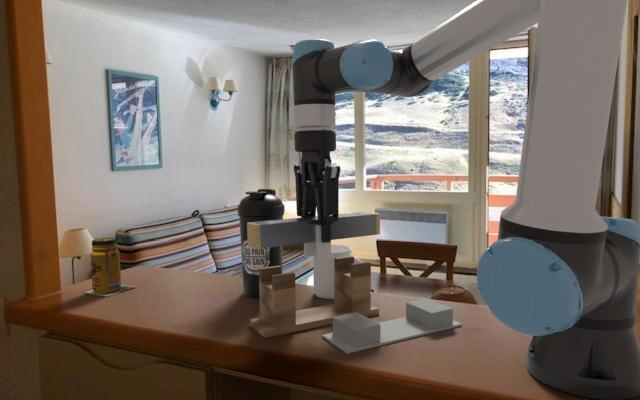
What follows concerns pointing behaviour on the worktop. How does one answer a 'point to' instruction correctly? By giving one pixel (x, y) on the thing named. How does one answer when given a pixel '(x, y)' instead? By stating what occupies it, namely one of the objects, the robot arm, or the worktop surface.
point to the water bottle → (249, 210)
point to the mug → (328, 271)
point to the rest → (390, 326)
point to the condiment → (106, 268)
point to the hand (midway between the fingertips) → (317, 257)
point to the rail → (310, 229)
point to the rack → (284, 318)
